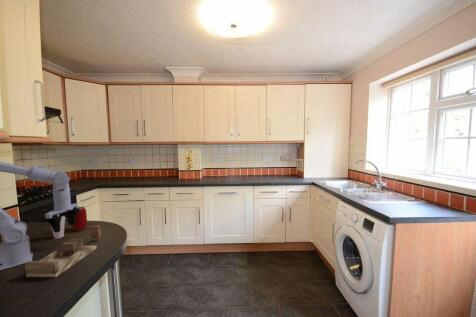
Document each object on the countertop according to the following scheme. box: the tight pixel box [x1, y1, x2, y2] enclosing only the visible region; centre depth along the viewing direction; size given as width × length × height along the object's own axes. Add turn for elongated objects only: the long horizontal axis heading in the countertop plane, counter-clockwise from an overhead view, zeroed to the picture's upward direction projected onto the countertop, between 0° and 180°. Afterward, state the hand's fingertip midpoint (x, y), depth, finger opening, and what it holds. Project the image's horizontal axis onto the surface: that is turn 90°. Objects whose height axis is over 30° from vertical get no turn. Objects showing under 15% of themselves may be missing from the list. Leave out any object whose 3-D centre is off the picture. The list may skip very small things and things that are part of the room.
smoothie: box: [50, 214, 66, 239], centre depth 105 cm, size 6×6×14 cm
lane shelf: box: [24, 245, 98, 278], centre depth 83 cm, size 20×11×5 cm, turn 178°
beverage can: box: [71, 206, 88, 232], centre depth 114 cm, size 7×7×12 cm
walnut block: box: [61, 224, 102, 256], centre depth 93 cm, size 17×5×6 cm, turn 178°
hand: (64, 228), depth 93 cm, fingers open, 7 cm apart
